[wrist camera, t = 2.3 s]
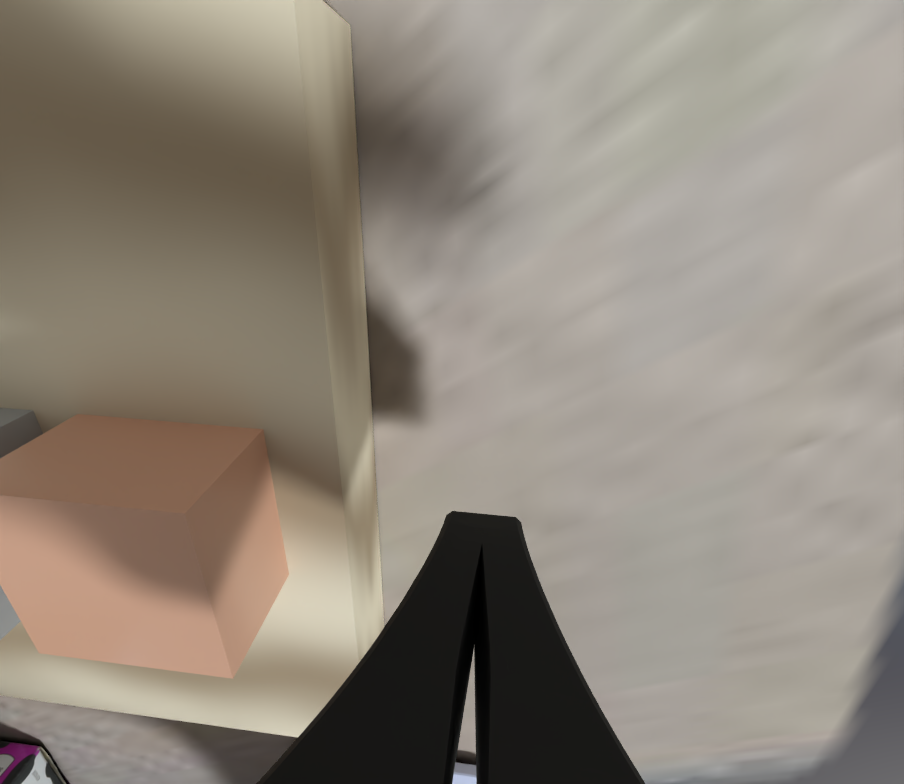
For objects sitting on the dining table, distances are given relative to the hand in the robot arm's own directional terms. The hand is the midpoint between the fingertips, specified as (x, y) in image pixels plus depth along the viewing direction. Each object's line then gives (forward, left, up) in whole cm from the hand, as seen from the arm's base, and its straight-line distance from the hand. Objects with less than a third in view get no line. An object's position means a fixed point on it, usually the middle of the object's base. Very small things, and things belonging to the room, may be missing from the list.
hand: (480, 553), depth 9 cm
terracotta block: (0, +6, -1) cm, 7 cm away
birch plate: (0, +9, -3) cm, 10 cm away
